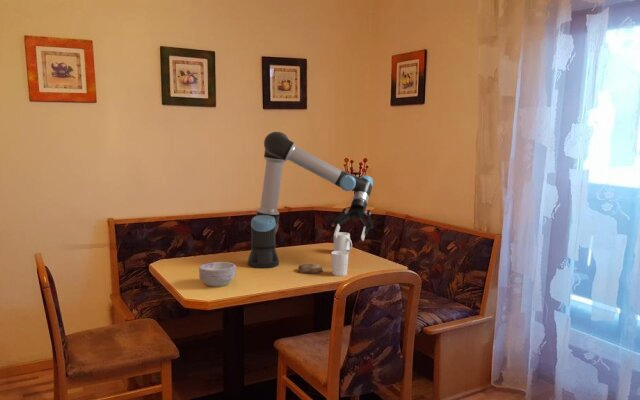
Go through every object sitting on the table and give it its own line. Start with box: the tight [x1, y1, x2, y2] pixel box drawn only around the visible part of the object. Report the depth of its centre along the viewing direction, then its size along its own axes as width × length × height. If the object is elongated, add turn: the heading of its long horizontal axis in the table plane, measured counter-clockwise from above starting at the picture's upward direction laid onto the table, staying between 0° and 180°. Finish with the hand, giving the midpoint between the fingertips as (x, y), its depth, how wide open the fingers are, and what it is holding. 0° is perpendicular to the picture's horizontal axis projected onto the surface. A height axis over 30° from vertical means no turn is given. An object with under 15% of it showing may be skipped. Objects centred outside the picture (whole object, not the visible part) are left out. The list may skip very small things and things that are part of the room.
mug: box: [333, 231, 353, 254], centre depth 276 cm, size 9×12×11 cm
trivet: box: [298, 263, 323, 275], centre depth 241 cm, size 11×11×2 cm
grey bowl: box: [198, 261, 237, 287], centre depth 218 cm, size 15×15×8 cm
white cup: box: [330, 250, 350, 277], centre depth 236 cm, size 8×8×10 cm
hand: (348, 238), depth 244 cm, fingers open, 13 cm apart
